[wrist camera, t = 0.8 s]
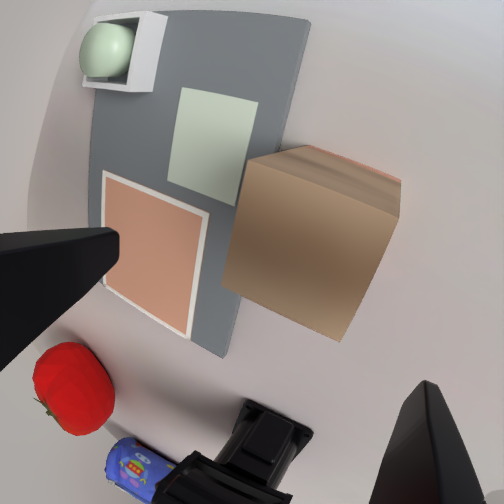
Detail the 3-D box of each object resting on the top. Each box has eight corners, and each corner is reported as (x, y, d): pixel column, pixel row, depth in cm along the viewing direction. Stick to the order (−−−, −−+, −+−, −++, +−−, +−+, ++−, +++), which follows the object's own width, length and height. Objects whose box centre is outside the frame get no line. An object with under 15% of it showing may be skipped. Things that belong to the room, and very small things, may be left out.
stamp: (366, 264, 17) (339, 342, 11) (284, 229, 18) (220, 285, 13) (401, 179, 14) (399, 217, 9) (309, 144, 16) (247, 160, 10)
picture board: (226, 354, 24) (209, 374, 22) (95, 273, 29) (75, 284, 27) (311, 23, 13) (294, 7, 11) (115, 17, 17) (88, 13, 15)
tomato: (104, 338, 33) (38, 387, 25) (142, 415, 37) (93, 463, 29) (60, 322, 38) (5, 359, 30) (94, 391, 42) (50, 429, 34)
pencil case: (136, 450, 46) (103, 484, 38) (124, 424, 43) (85, 461, 35) (249, 508, 38) (219, 553, 30) (250, 490, 34) (215, 543, 26)
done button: (132, 78, 17) (108, 78, 15) (98, 75, 18) (75, 76, 16) (143, 24, 15) (119, 20, 13) (107, 27, 16) (84, 25, 14)
